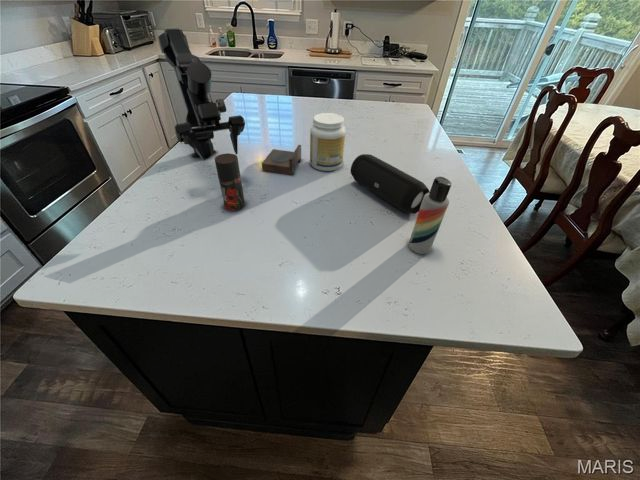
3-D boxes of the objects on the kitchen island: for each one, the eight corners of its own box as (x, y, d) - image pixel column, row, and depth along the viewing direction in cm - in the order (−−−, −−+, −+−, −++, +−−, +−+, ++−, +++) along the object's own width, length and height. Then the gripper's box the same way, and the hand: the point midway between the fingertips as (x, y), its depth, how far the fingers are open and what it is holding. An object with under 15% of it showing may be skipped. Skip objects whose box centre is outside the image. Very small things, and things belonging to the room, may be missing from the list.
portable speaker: (347, 183, 100) (350, 155, 93) (368, 175, 105) (372, 148, 98) (404, 221, 85) (413, 191, 79) (426, 210, 90) (435, 181, 83)
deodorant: (248, 201, 89) (241, 155, 79) (238, 212, 85) (229, 165, 75) (231, 197, 91) (222, 151, 81) (220, 208, 86) (209, 161, 76)
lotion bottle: (405, 240, 79) (426, 173, 66) (425, 239, 79) (450, 173, 66) (412, 255, 75) (435, 186, 61) (433, 254, 75) (461, 186, 62)
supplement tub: (349, 164, 110) (354, 118, 99) (327, 176, 103) (330, 127, 92) (325, 154, 116) (327, 109, 105) (302, 163, 109) (302, 117, 98)
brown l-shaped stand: (262, 171, 104) (260, 155, 100) (273, 156, 113) (272, 141, 109) (292, 175, 102) (291, 159, 98) (301, 160, 111) (301, 145, 107)
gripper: (164, 91, 72) (185, 152, 73) (238, 84, 80) (257, 139, 80) (168, 114, 83) (187, 167, 83) (234, 106, 90) (250, 154, 90)
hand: (221, 156), depth 84 cm, fingers open, 9 cm apart
